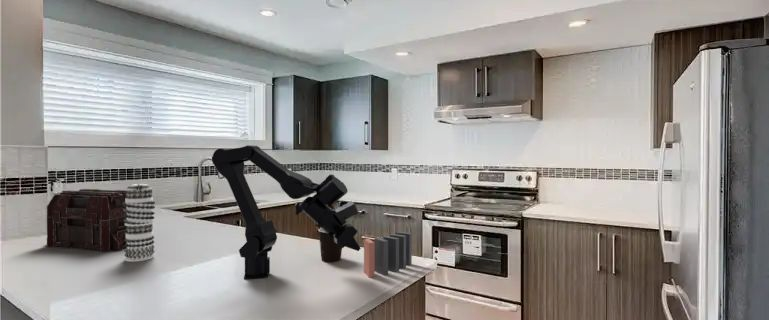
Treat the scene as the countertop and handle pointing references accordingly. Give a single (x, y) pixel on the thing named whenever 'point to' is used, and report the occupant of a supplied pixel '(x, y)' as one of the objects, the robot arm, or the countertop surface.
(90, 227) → the crate
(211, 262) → the countertop surface
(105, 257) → the countertop surface
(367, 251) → the domino
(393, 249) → the domino
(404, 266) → the domino
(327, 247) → the coffee mug
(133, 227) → the decorative candle
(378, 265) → the domino
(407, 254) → the domino
